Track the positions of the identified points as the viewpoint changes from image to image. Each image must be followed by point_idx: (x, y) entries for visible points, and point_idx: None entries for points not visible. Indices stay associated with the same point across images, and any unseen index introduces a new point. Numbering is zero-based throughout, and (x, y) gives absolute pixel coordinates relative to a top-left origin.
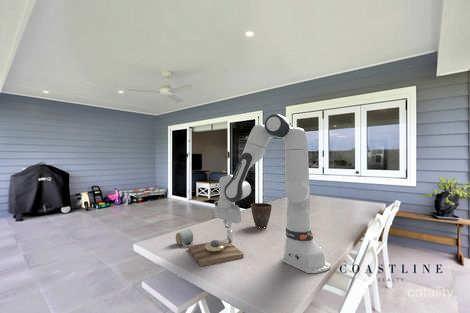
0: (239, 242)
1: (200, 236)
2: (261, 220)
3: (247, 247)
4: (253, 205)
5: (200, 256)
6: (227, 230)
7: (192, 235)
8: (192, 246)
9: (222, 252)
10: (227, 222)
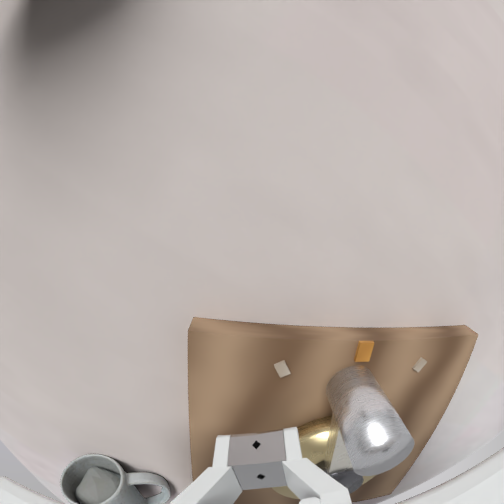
0: (240, 204)
1: (25, 379)
2: None
3: (378, 211)
4: None
5: (351, 495)
6: (358, 470)
7: (119, 497)
8: None
9: None
10: (210, 488)
